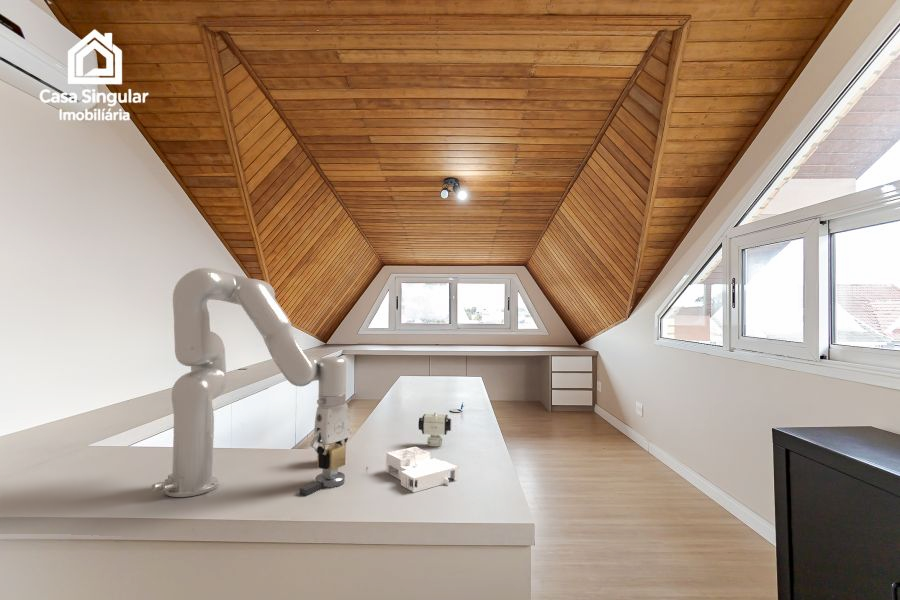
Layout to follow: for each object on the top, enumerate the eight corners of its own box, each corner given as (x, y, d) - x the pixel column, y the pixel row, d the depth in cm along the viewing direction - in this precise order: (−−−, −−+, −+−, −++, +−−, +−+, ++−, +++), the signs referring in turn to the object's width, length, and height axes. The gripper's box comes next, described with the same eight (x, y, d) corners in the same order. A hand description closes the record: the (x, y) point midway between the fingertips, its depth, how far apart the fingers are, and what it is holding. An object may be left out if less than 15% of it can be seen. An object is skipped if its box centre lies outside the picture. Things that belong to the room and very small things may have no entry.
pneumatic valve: (420, 443, 165) (420, 410, 166) (451, 444, 164) (451, 411, 165) (417, 447, 160) (418, 414, 160) (449, 448, 159) (450, 415, 159)
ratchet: (313, 498, 114) (314, 477, 115) (292, 492, 118) (292, 472, 118) (350, 481, 127) (350, 462, 127) (329, 476, 131) (330, 457, 131)
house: (366, 473, 133) (366, 453, 133) (417, 461, 145) (417, 443, 145) (406, 498, 116) (406, 474, 116) (460, 482, 127) (460, 461, 127)
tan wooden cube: (331, 470, 122) (331, 450, 122) (317, 467, 124) (317, 447, 124) (345, 464, 126) (345, 445, 127) (331, 461, 129) (331, 442, 129)
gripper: (319, 407, 117) (318, 477, 116) (362, 397, 132) (361, 458, 131) (299, 404, 120) (298, 472, 120) (342, 394, 135) (342, 454, 135)
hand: (331, 464), depth 125 cm, fingers closed on tan wooden cube, 5 cm apart
